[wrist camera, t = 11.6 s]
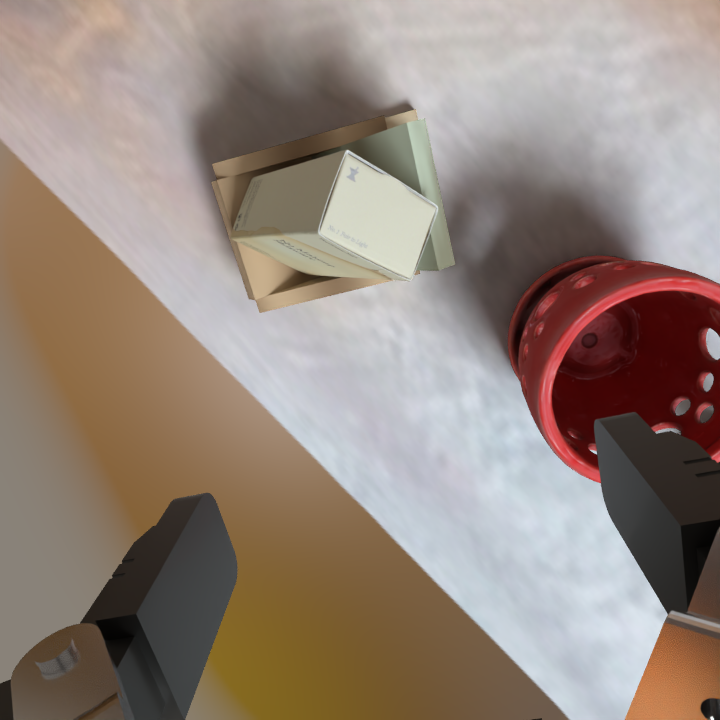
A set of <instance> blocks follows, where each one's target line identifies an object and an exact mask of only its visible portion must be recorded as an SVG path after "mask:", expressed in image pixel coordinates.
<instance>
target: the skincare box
mask: <svg viewBox="0 0 720 720" xmlns="http://www.w3.org/2000/svg"><path fill="white" fill-rule="evenodd" d="M437 213H438V206H437V205H436V204H434V203H433V202H431V201H430V200H428V199H427V198H425V197H424V196H422V195H421V194H419V193H418V192H416V191H415V190H413V189H411V188H410V187H408V186H407V185H405V184H404V183H402V182H401V181H399V180H398V179H396V178H394V177H393V176H391V175H389V174H387V173H386V172H384V171H383V170H381V169H379V168H377V167H376V166H374V165H372V164H371V163H369V162H367V161H366V160H364V159H362V158H361V157H359V156H357V155H356V154H354V153H352V152H351V151H349V150H344V151H340V152H337V153H334V154H331V155H327V156H324V157H321V158H317V159H314V160H310V161H307V162H304V163H300V164H297V165H294V166H290V167H287V168H283V169H280V170H277V171H273V172H270V173H267V174H263V175H260V176H256V177H253V178H252V179H251V182H250V184H249V187H248V189H247V192H246V194H245V197H244V199H243V202H242V205H241V207H240V210H239V213H238V215H237V218H236V221H235V224H234V227H233V230H232V233H231V236H230V237H231V239H232V240H234V241H236V242H239V243H241V244H243V245H245V246H247V247H249V248H251V249H253V250H255V251H257V252H259V253H261V254H263V255H265V256H267V257H270V258H272V259H274V260H276V261H278V262H281V263H283V264H285V265H287V266H289V267H291V268H294V269H296V270H298V271H300V272H303V273H305V274H308V275H320V276H334V277H350V278H368V279H384V280H400V281H411V280H412V279H413V277H414V274H415V272H416V269H417V266H418V263H419V261H420V258H421V256H422V253H423V251H424V248H425V245H426V242H427V240H428V237H429V235H430V232H431V229H432V226H433V223H434V221H435V218H436V215H437Z"/></svg>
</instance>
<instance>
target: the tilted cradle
mask: <svg viewBox="0 0 720 720" xmlns="http://www.w3.org/2000/svg"><path fill="white" fill-rule="evenodd" d="M344 150H349V151H351V152H352V153H354V154H356V155H357V156H359V157H361V158H362V159H364V160H366V161H367V162H369V163H371V164H372V165H374V166H376V167H377V168H379V169H381V170H383V171H384V172H386V173H387V174H389V175H391V176H393V177H394V178H396V179H398V180H399V181H401V182H402V183H404V184H405V185H407V186H408V187H410V188H411V189H413V190H415V191H416V192H418V193H419V194H421V195H422V196H424V197H425V198H427V199H428V200H430V201H431V202H433V203H434V204H436V205H437V206H438V213H437V215H436V218H435V221H434V223H433V226H432V229H431V232H430V235H429V237H428V240H427V242H426V245H425V248H424V251H423V253H422V256H421V258H420V261H419V263H418V266H417V269H416V272H415V274H414V275H417V274H420V271H419V270H423V271H439V270H442V269H445V268H447V267H450V266H452V265H455V261H454V256H453V251H452V247H451V242H450V237H449V232H448V227H447V222H446V218H445V213H444V208H443V203H442V198H441V194H440V189H439V184H438V179H437V174H436V169H435V165H434V160H433V155H432V150H431V145H430V141H429V136H428V131H427V126H426V121H425V118H424V119H420V120H418V117H417V113H416V109H415V110H411V111H408V112H404V113H401V114H397V115H394V116H390V117H387V118H385V117H384V116H380V117H377V118H373V119H370V120H366V121H363V122H359V123H355V124H352V125H348V126H345V127H341V128H338V129H334V130H331V131H327V132H324V133H320V134H317V135H313V136H309V137H306V138H302V139H299V140H295V141H292V142H288V143H285V144H281V145H278V146H274V147H271V148H267V149H263V150H260V151H256V152H253V153H249V154H246V155H242V156H239V157H235V158H232V159H228V160H225V161H221V162H217V163H214V164H212V165H213V169H214V172H215V175H216V178H217V180H216V181H213V182H211V183H212V186H213V189H214V193H215V196H216V199H217V202H218V205H219V208H220V211H221V214H222V217H223V220H224V223H225V227H226V230H227V233H228V236H229V239H230V242H231V245H232V248H233V251H234V254H235V257H236V261H237V264H238V267H239V270H240V273H241V276H242V279H243V282H244V285H245V288H246V291H247V295H248V298H249V299H252V300H256V303H257V306H258V309H259V312H260V313H262V312H266V311H270V310H274V309H278V308H282V307H286V306H290V305H294V304H298V303H303V302H307V301H311V300H315V299H319V298H323V297H327V296H331V295H335V294H339V293H343V292H348V291H352V290H356V289H360V288H364V287H368V286H372V285H376V284H380V283H384V282H388V281H393V280H384V279H368V278H350V277H334V276H320V275H308V274H305V273H303V272H300V271H298V270H296V269H294V268H291V267H289V266H287V265H285V264H283V263H281V262H278V261H276V260H274V259H272V258H270V257H267V256H265V255H263V254H261V253H259V252H257V251H255V250H253V249H251V248H249V247H247V246H245V245H243V244H241V243H239V242H236V241H234V240H232V239H231V237H230V236H231V233H232V230H233V227H234V224H235V221H236V218H237V215H238V213H239V210H240V207H241V205H242V202H243V199H244V197H245V194H246V192H247V189H248V187H249V184H250V182H251V179H252V178H253V177H256V176H260V175H263V174H267V173H270V172H273V171H277V170H280V169H283V168H287V167H290V166H294V165H297V164H300V163H304V162H307V161H310V160H314V159H317V158H321V157H324V156H327V155H331V154H334V153H337V152H340V151H344Z"/></svg>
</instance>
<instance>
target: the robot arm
mask: <svg viewBox="0 0 720 720" xmlns="http://www.w3.org/2000/svg"><path fill="white" fill-rule="evenodd" d="M594 433H595V441H596V449H597V456H598V464H599V472H600V479H601V487H602V493H603V497H604V501H605V504H606V507H607V510H608V513H609V515H610V517H611V519H612V521H613V523H614V525H615V526H616V528H617V530H618V531H619V533H620V535H621V536H622V538H623V540H624V541H625V543H626V545H627V546H628V548H629V550H630V551H631V553H632V555H633V556H634V558H635V560H636V561H637V563H638V565H639V566H640V568H641V570H642V572H643V573H644V575H645V577H646V578H647V580H648V582H649V583H650V585H651V587H652V588H653V590H654V592H655V593H656V595H657V597H658V598H659V600H660V602H661V603H662V605H663V607H664V608H665V610H666V612H667V613H668V616H667V618H666V620H665V622H664V624H663V627H662V629H661V632H660V634H659V637H658V639H657V642H656V644H655V647H654V649H653V651H652V654H651V656H650V659H649V661H648V664H647V666H646V669H645V671H644V674H643V676H642V679H641V681H640V683H639V686H638V688H637V691H636V693H635V696H634V698H633V701H632V703H631V706H630V708H629V710H628V713H627V715H626V718H625V720H720V464H719V463H718V462H716V461H715V460H712V457H711V456H710V455H709V454H708V453H707V452H706V451H705V450H704V449H703V448H702V447H701V446H700V445H699V444H698V443H696V442H695V441H693V440H690V439H688V438H686V437H683V436H681V435H679V434H676V433H674V432H672V431H669V432H664V433H658V434H656V433H655V432H654V431H653V430H652V429H651V428H650V427H649V425H648V424H647V423H646V422H645V421H644V420H643V419H642V418H641V417H640V416H639V415H638V414H637V413H635V412H632V413H627V414H622V415H616V416H611V417H606V418H601V419H596V420H595V422H594ZM112 577H113V578H112V579H109V581H108V582H107V584H106V585H105V587H104V588H103V590H102V591H101V593H100V594H99V596H98V597H97V599H96V600H95V602H94V603H93V605H92V606H91V608H90V609H89V611H88V612H87V614H86V615H85V617H84V618H83V620H82V621H81V622H80V624H76V625H72V626H69V627H66V628H64V629H61V630H59V631H57V632H55V633H53V634H51V635H50V636H48V637H46V638H45V639H43V640H42V641H40V642H39V643H38V644H36V645H35V646H34V647H33V648H32V649H31V650H29V651H28V653H26V654H25V655H24V657H23V658H22V659H21V660H20V661H19V663H18V664H17V666H16V667H15V669H14V671H13V673H12V677H11V680H8V681H5V682H3V683H1V684H0V720H185V718H186V715H187V713H188V710H189V708H190V705H191V702H192V699H193V697H194V694H195V691H196V688H197V686H198V683H199V681H200V678H201V675H202V672H203V670H204V667H205V664H206V662H207V659H208V656H209V654H210V651H211V648H212V645H213V643H214V640H215V637H216V635H217V632H218V629H219V626H220V624H221V621H222V618H223V616H224V613H225V610H226V608H227V605H228V602H229V600H230V597H231V594H232V591H233V589H234V586H235V583H236V579H237V560H236V555H235V551H234V549H233V546H232V543H231V541H230V538H229V535H228V532H227V530H226V527H225V524H224V522H223V519H222V517H221V514H220V511H219V508H218V506H217V503H216V501H215V499H214V497H213V496H212V495H211V494H210V493H203V494H198V495H193V496H188V497H183V498H177V499H174V500H173V501H172V502H171V503H170V505H169V506H168V508H167V509H166V511H165V513H164V514H163V516H162V517H161V519H160V520H159V522H158V523H157V525H156V526H153V527H152V528H150V529H149V530H148V531H147V532H146V533H145V534H144V535H143V536H141V537H140V538H139V539H138V540H137V541H136V542H134V544H133V545H132V547H131V548H130V550H129V551H128V552H127V554H126V556H125V557H124V558H123V560H122V564H120V565H119V566H118V568H117V569H116V570H115V572H114V573H113V575H112ZM533 720H542V718H541V719H533Z"/></svg>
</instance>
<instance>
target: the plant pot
mask: <svg viewBox="0 0 720 720" xmlns="http://www.w3.org/2000/svg"><path fill="white" fill-rule="evenodd" d="M709 328H711V329H713V330H714V331H715V332H716V333H717V334H718V335H719V337H720V284H718V283H716V282H714V281H712V280H710V279H708V278H705V277H703V276H700V275H698V274H695V273H692V272H689V271H685V270H681V269H677V268H673V267H670V266H667V265H663V264H659V263H653V262H646V261H634V260H625V259H621V258H617V257H611V256H588V257H581V258H577V259H574V260H571V261H568V262H565V263H563V264H560V265H558V266H556V267H554V268H553V269H551V270H549V271H548V272H546V273H545V274H543V275H542V276H541V277H540V278H538V279H537V280H536V281H535V282H534V283H533V284H532V285H531V286H530V287H529V288H528V289H527V290H526V292H525V293H524V294H523V296H522V297H521V299H520V300H519V302H518V304H517V306H516V308H515V311H514V313H513V315H512V318H511V322H510V326H509V332H508V352H509V357H510V361H511V365H512V367H513V370H514V372H515V374H516V375H517V377H518V379H519V380H520V382H521V387H522V392H523V394H524V397H525V399H526V402H527V405H528V407H529V410H530V412H531V415H532V417H533V419H534V421H535V423H536V425H537V427H538V429H539V430H540V432H541V434H542V436H543V437H544V439H545V440H546V442H547V443H548V445H549V446H550V448H551V449H552V450H553V452H554V453H555V454H556V455H557V456H558V457H559V458H560V459H561V460H562V461H563V462H564V463H565V464H566V465H567V466H569V467H570V468H571V469H573V470H574V471H576V472H577V473H579V474H580V475H582V476H584V477H586V478H589V479H591V480H593V481H596V482H598V483H601V479H600V472H599V464H598V456H597V455H596V454H594V453H593V452H591V451H590V450H595V451H597V449H596V441H595V433H594V422H595V420H596V419H601V418H606V417H611V416H616V415H622V414H627V413H632V412H635V413H637V414H638V415H639V416H640V417H641V418H642V419H643V420H644V421H645V422H646V423H647V424H648V425H649V427H650V428H651V429H652V430H653V431H654V432H656V431H658V430H661V429H665V428H676V429H678V430H679V431H681V436H683V437H686V438H688V439H690V440H693V441H695V442H696V443H698V444H699V445H700V446H701V447H702V448H703V449H704V450H705V451H706V452H707V453H708V454H709V455H710V456H711V457H712V460H715V461H716V462H720V359H718V360H715V359H714V358H712V356H711V355H710V354H709V352H708V349H707V346H706V333H707V331H708V329H709ZM709 373H712V374H713V377H714V381H713V385H712V387H711V389H710V390H709V391H708V392H706V391H705V390H704V388H703V383H704V380H705V378H706V376H707V375H708V374H709ZM686 399H688V400H690V402H691V404H690V408H689V410H687V412H686V413H685V414H683V415H680V416H677V415H676V414H675V409H676V407H677V405H678V404H679V403H680V402H681V401H683V400H686ZM712 405H713V407H714V413H713V415H712V417H711V418H710V419H709V420H708V421H707V422H705V423H701V422H700V415H701V413H702V412H703V410H704V409H705V408H707V407H708V406H712ZM572 436H573V437H572ZM574 437H575V438H574Z"/></svg>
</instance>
